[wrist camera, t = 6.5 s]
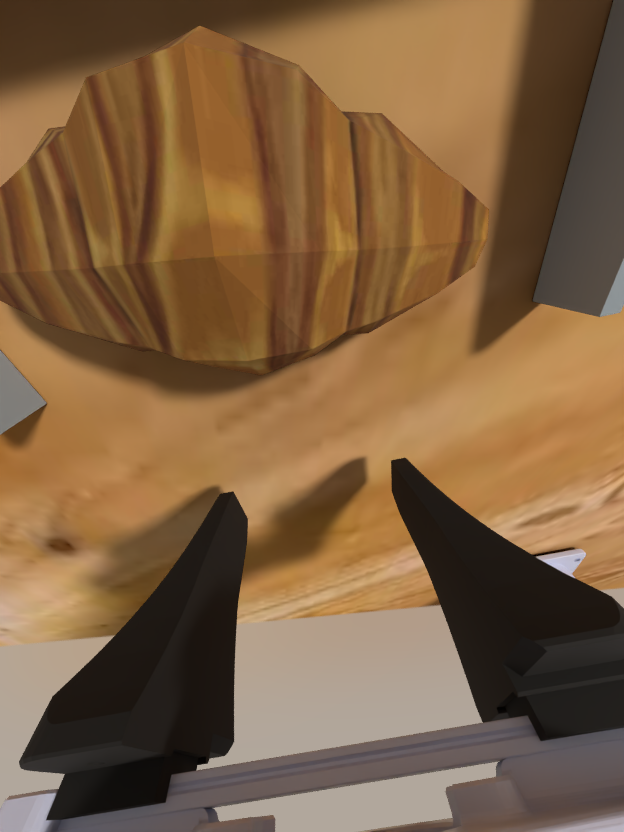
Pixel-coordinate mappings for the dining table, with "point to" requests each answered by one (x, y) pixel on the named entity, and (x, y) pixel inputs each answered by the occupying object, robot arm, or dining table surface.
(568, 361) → the dining table surface
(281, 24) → the dining table surface
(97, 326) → the croissant
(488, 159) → the dining table surface
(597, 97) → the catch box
